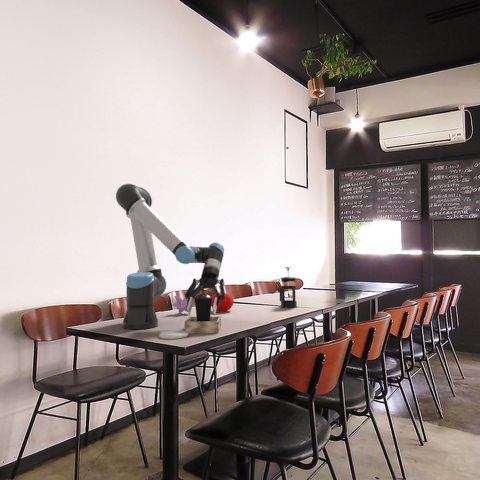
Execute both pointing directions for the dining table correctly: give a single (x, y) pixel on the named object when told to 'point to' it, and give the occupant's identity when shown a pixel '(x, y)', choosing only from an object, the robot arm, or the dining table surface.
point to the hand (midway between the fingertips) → (201, 311)
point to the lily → (181, 304)
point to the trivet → (173, 334)
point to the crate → (203, 325)
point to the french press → (282, 293)
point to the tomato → (223, 302)
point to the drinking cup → (203, 306)
